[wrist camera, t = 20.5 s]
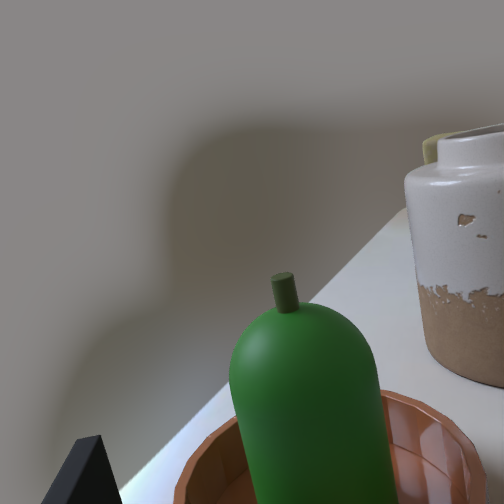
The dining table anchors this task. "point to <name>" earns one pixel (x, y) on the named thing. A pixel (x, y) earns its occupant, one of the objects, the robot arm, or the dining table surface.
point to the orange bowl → (401, 448)
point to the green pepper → (310, 406)
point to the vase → (462, 252)
